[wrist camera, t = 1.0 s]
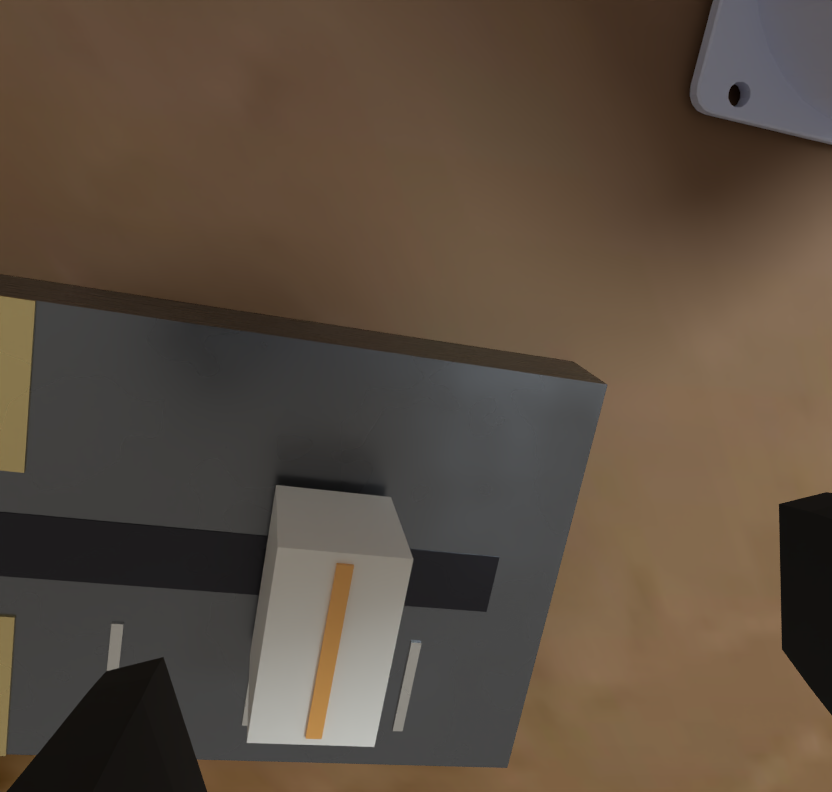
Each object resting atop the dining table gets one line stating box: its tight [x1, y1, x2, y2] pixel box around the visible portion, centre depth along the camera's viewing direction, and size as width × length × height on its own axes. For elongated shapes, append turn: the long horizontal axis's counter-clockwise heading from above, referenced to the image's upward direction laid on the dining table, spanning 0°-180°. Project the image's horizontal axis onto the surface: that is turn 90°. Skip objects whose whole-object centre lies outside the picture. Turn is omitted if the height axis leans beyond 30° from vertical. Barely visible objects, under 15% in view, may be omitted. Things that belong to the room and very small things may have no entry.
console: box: [0, 274, 607, 768], centre depth 17 cm, size 19×10×2 cm, turn 79°
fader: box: [247, 485, 413, 747], centre depth 15 cm, size 2×4×3 cm, turn 169°
